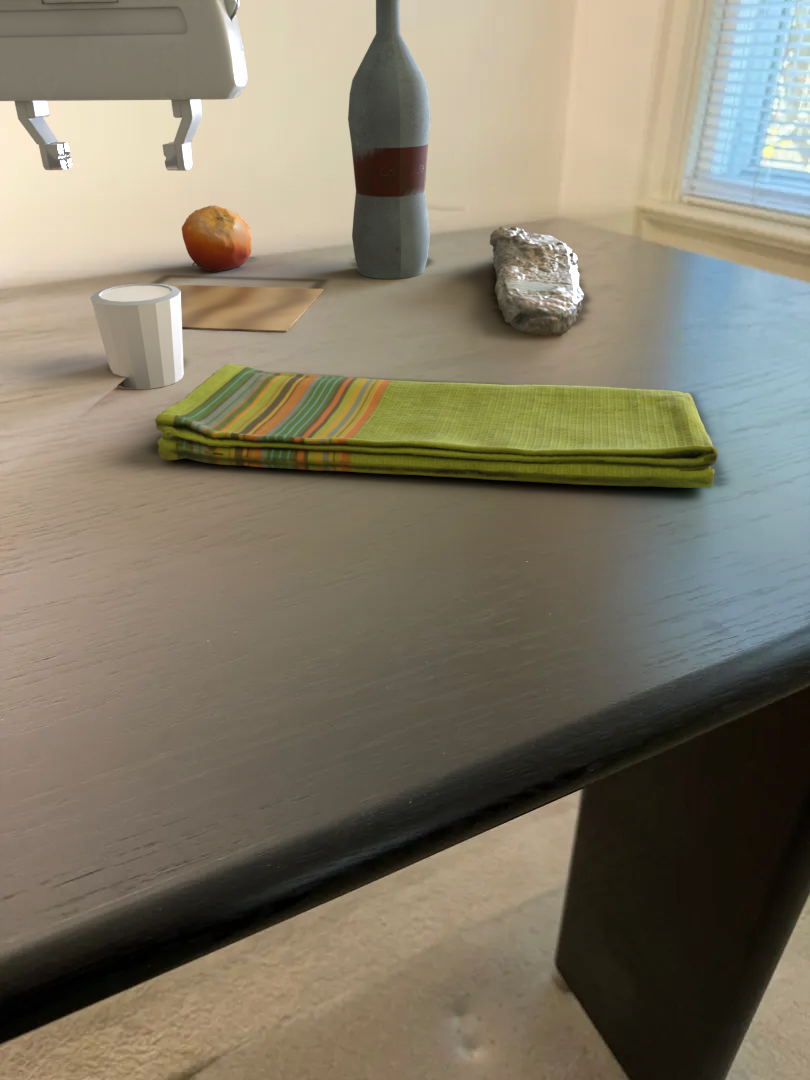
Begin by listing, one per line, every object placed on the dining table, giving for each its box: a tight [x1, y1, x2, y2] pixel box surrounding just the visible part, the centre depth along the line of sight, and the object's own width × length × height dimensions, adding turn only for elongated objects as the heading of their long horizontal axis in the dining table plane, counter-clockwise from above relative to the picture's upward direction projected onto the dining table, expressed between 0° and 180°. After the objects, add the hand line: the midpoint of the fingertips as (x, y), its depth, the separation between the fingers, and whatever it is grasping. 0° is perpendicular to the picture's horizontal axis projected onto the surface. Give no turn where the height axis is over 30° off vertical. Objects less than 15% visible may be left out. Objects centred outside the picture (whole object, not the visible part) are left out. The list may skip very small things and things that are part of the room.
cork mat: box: [167, 283, 325, 333], centre depth 92 cm, size 18×16×1 cm
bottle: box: [347, 0, 432, 280], centre depth 98 cm, size 9×9×30 cm
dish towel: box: [154, 363, 719, 489], centre depth 62 cm, size 15×36×3 cm, turn 81°
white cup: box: [90, 283, 185, 390], centre depth 72 cm, size 7×7×7 cm
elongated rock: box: [489, 226, 585, 337], centre depth 96 cm, size 35×5×10 cm
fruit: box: [181, 205, 252, 273], centre depth 107 cm, size 8×8×8 cm
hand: (118, 169), depth 65 cm, fingers open, 8 cm apart
